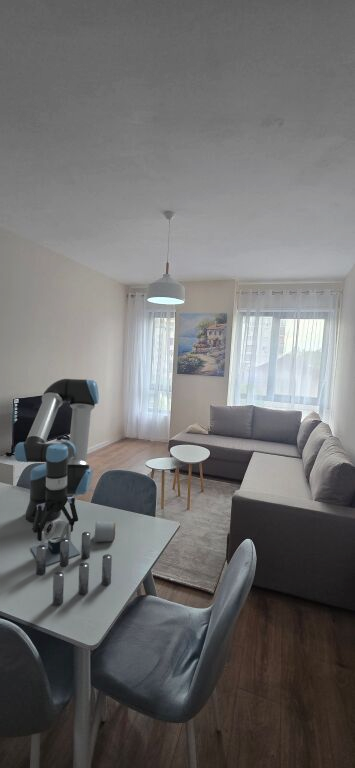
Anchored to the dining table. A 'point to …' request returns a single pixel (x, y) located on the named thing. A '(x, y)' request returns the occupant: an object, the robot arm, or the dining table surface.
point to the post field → (64, 561)
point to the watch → (55, 542)
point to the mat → (56, 557)
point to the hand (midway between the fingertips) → (55, 544)
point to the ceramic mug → (104, 531)
